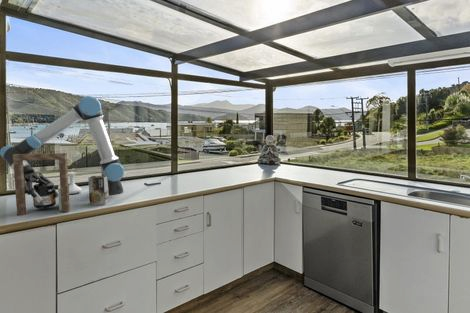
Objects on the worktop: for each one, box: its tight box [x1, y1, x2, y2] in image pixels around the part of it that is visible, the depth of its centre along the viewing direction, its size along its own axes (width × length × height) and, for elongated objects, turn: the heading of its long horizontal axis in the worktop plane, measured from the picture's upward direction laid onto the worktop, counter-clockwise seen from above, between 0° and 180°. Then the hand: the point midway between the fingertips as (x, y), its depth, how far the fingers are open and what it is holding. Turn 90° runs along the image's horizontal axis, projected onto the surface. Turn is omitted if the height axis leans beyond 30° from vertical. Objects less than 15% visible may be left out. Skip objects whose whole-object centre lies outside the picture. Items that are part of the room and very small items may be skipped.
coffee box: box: [87, 175, 110, 206], centre depth 176 cm, size 9×6×16 cm
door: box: [57, 183, 62, 212], centre depth 166 cm, size 15×3×12 cm, turn 29°
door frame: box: [13, 152, 71, 216], centre depth 156 cm, size 24×3×31 cm, turn 104°
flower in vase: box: [67, 156, 83, 195], centre depth 203 cm, size 13×11×25 cm
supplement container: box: [32, 182, 57, 209], centre depth 164 cm, size 10×10×12 cm
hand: (49, 198), depth 164 cm, fingers closed on supplement container, 10 cm apart
